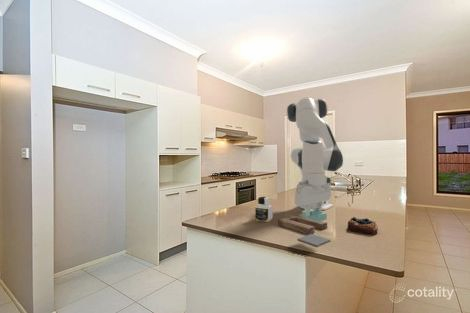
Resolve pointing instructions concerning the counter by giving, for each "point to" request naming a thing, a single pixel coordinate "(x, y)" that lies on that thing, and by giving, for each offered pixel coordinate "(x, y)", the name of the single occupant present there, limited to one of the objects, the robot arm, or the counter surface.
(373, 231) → the pastry
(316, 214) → the block
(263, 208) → the white black angular body
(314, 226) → the channel board
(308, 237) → the slate mat
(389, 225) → the counter surface
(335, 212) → the counter surface
